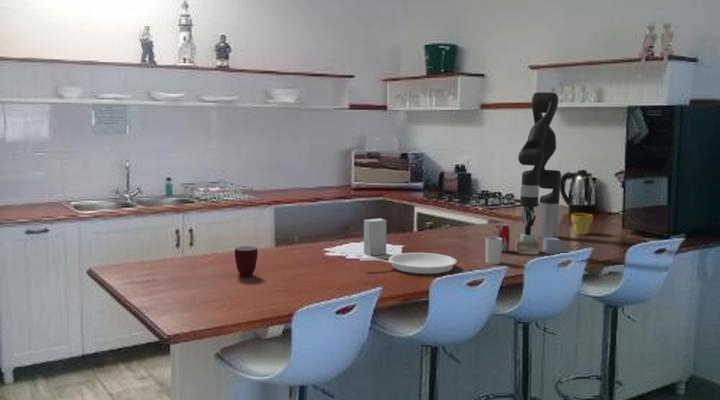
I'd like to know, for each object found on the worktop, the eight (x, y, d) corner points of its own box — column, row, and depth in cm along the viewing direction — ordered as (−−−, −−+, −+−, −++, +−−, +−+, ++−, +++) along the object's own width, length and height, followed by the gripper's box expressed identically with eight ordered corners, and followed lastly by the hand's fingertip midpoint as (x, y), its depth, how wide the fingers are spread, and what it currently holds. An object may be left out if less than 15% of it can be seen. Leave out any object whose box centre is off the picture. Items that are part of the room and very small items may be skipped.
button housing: (515, 250, 292) (515, 239, 291) (533, 250, 292) (533, 239, 291) (520, 253, 284) (520, 242, 283) (538, 254, 284) (539, 242, 283)
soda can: (509, 253, 285) (510, 225, 284) (492, 252, 287) (493, 225, 285) (508, 249, 292) (509, 223, 291) (492, 249, 293) (493, 222, 292)
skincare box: (380, 252, 283) (380, 217, 282) (386, 254, 278) (387, 220, 276) (362, 253, 280) (363, 218, 278) (369, 256, 274) (369, 221, 273)
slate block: (542, 251, 291) (543, 237, 290) (556, 251, 291) (556, 237, 291) (547, 253, 285) (547, 240, 284) (560, 254, 285) (561, 240, 285)
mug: (226, 274, 240) (225, 247, 238) (243, 270, 246) (243, 244, 244) (244, 279, 233) (244, 251, 231) (262, 275, 239) (262, 248, 238)
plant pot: (591, 236, 330) (592, 216, 328) (570, 234, 333) (571, 215, 332) (591, 232, 339) (593, 214, 338) (570, 231, 343) (572, 212, 342)
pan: (468, 274, 247) (468, 261, 246) (369, 280, 236) (370, 267, 235) (440, 259, 272) (440, 248, 271) (350, 264, 261) (350, 252, 260)
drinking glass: (498, 265, 262) (499, 240, 260) (482, 262, 265) (483, 238, 264) (503, 262, 267) (504, 237, 266) (488, 260, 271) (489, 236, 269)
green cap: (519, 244, 290) (520, 233, 289) (531, 244, 290) (531, 233, 289) (523, 247, 285) (523, 235, 284) (534, 247, 285) (535, 235, 284)
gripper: (542, 197, 278) (540, 237, 280) (533, 193, 291) (531, 232, 293) (525, 197, 278) (523, 237, 280) (516, 193, 291) (514, 232, 293)
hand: (527, 234), depth 287 cm, fingers closed
